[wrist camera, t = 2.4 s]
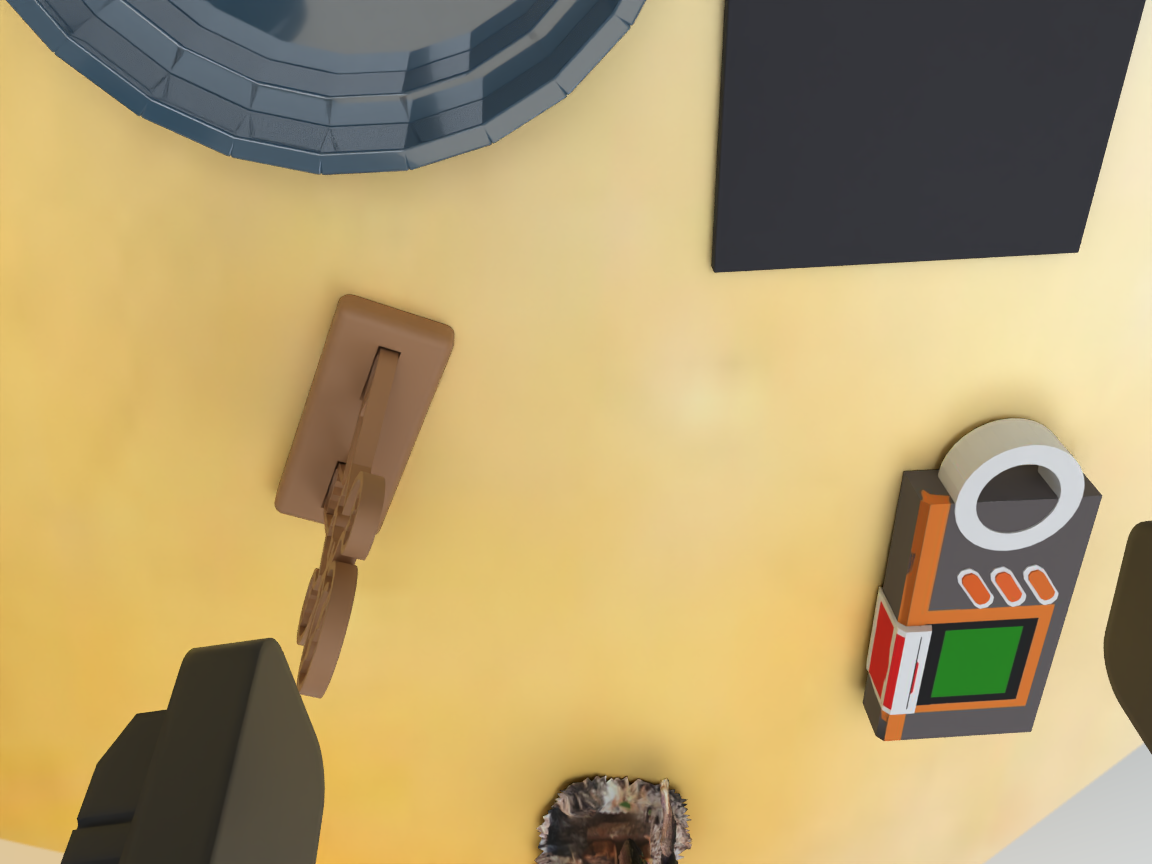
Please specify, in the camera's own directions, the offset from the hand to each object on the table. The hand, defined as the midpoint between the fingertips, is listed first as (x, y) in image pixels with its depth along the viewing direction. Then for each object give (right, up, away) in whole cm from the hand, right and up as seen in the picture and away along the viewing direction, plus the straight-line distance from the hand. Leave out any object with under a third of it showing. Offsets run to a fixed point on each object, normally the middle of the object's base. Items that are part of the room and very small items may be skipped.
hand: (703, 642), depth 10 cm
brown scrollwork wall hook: (-9, +3, +27) cm, 28 cm away
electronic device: (+15, -3, +33) cm, 36 cm away
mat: (+9, +13, +21) cm, 26 cm away
